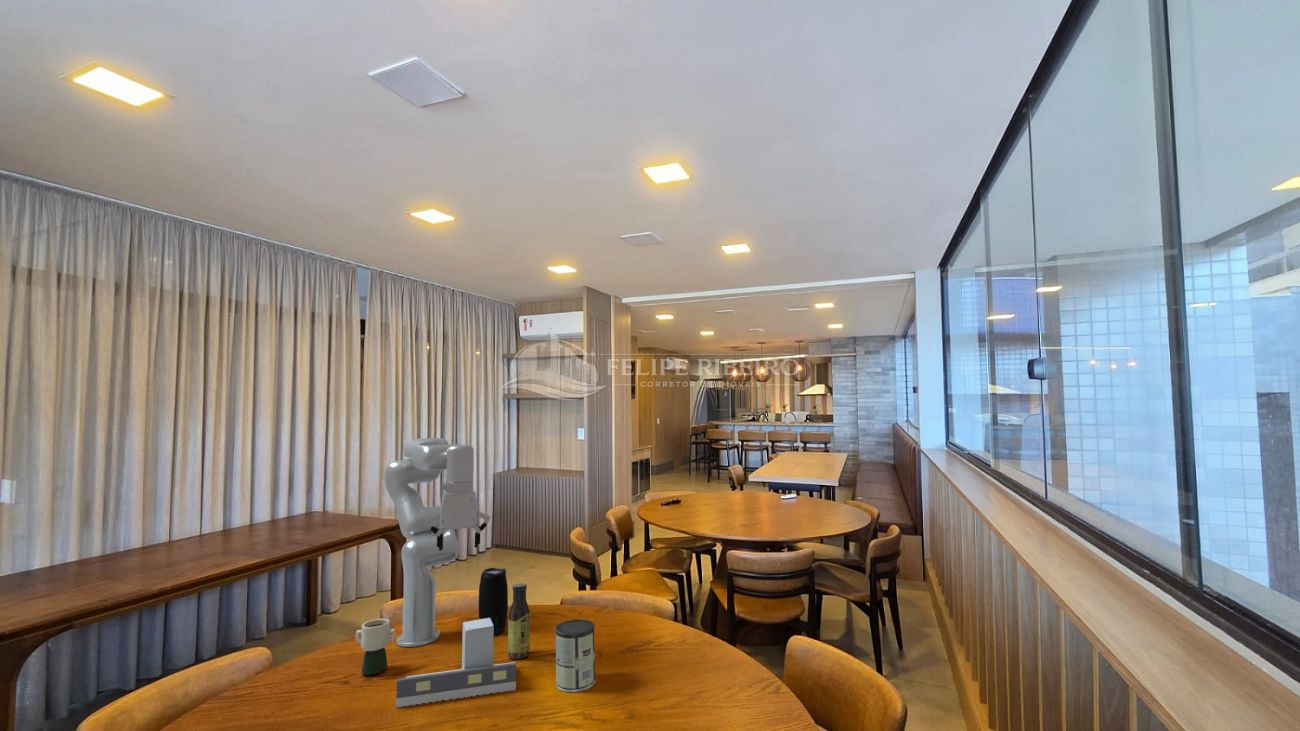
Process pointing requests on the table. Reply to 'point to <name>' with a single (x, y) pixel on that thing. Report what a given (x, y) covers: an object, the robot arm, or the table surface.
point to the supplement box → (477, 644)
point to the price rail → (455, 680)
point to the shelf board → (455, 692)
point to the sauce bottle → (519, 624)
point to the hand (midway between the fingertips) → (458, 548)
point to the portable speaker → (494, 598)
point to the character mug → (375, 644)
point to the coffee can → (575, 655)
